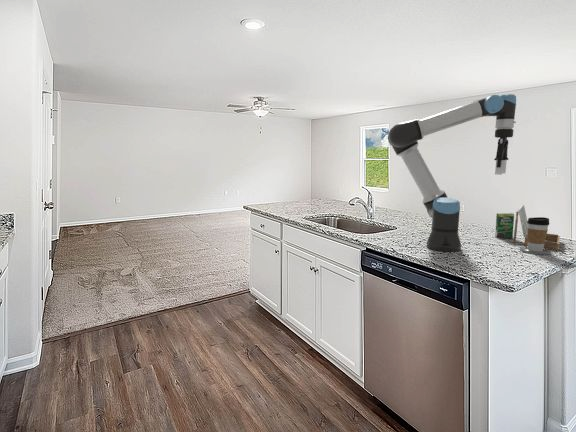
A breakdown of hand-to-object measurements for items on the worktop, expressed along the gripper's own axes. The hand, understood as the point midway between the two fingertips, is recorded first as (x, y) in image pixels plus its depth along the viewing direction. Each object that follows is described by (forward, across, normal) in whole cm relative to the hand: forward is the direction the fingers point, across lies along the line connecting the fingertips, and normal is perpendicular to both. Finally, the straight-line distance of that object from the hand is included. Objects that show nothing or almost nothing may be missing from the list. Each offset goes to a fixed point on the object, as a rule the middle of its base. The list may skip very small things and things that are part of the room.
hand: (500, 174), depth 178 cm
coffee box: (+35, +20, -2) cm, 40 cm away
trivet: (+35, -5, -17) cm, 39 cm away
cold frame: (+35, +15, -17) cm, 41 cm away
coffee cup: (+34, -5, -17) cm, 39 cm away
